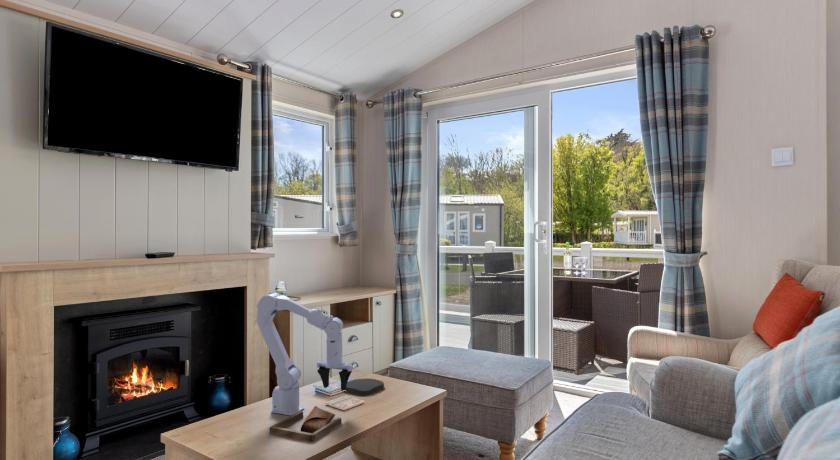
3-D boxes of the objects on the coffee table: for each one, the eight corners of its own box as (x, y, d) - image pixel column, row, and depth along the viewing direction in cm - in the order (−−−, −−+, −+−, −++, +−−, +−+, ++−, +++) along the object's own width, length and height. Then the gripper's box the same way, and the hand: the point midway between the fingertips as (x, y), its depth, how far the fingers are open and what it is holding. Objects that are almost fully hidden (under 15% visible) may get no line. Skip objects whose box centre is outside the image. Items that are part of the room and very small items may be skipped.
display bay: (269, 433, 166) (269, 427, 166) (300, 416, 181) (300, 411, 181) (313, 441, 159) (312, 435, 159) (341, 423, 174) (341, 417, 174)
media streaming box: (365, 397, 202) (365, 390, 202) (338, 391, 210) (338, 384, 210) (387, 388, 214) (387, 380, 214) (361, 382, 222) (361, 375, 222)
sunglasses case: (326, 433, 165) (315, 416, 165) (308, 444, 165) (297, 427, 165) (335, 413, 183) (326, 398, 183) (319, 423, 183) (309, 408, 183)
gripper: (311, 352, 185) (312, 389, 185) (345, 355, 179) (345, 394, 179) (323, 348, 191) (323, 383, 191) (355, 351, 185) (356, 388, 185)
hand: (334, 388), depth 186 cm, fingers open, 7 cm apart
